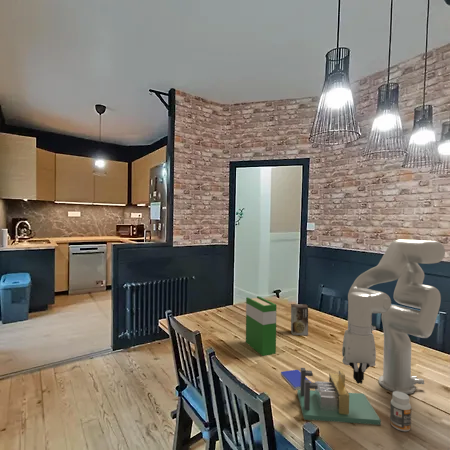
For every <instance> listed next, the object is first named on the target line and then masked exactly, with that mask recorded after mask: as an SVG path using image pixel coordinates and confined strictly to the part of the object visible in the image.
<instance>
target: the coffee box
mask: <svg viewBox="0 0 450 450" xmlns="http://www.w3.org/2000/svg"><path fill="white" fill-rule="evenodd" d="M290 308H291V309H290V313H291V314H290V322H291V323H290V332H291V335H292V336H308V335H309V307H308V305H307V304H302V303H291V305H290Z"/></svg>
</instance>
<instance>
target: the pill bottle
mask: <svg viewBox="0 0 450 450" xmlns="http://www.w3.org/2000/svg"><path fill="white" fill-rule="evenodd" d="M389 407H390V410H389V411H390V412H389V413H390V415H389V416H390V425H391V426H392V427H393V428H394V429H396V430H397V431H401V432H409V431H410V430H411V429H412V405H411V403H410V396H409V394H405V393H403V392H399V391H395V392H392V398H391V399H390V406H389Z"/></svg>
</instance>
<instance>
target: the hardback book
mask: <svg viewBox="0 0 450 450" xmlns="http://www.w3.org/2000/svg"><path fill="white" fill-rule="evenodd" d="M245 306H246V307H245V344H247V345H248V344H249V345H248V346H250V348H252V349H253V350H254V349H255V350H254V351H255V352H257V353H258V354H259V355H261V356H262V357H264V356H265V357H266V356H270V355H274V354H275V355H276V353H277V304H276V303H274V302H272V301H271V300H270V301H269V299H266V298H263V297H262V296H259V295H258V296H256V297H254V298H253V297H252V298H250V297H248V296H246V300H245Z"/></svg>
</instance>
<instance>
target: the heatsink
mask: <svg viewBox="0 0 450 450" xmlns="http://www.w3.org/2000/svg"><path fill="white" fill-rule="evenodd" d="M314 383H317V386H318V389H314V391H315V395H316V398H317V401H318V404H319V407H320V409H321V410H322V411H337V412H339V394H338V392H337V390H336V388H335V386H334V384H333V382H329V381H319V380H318V381H314Z"/></svg>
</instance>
